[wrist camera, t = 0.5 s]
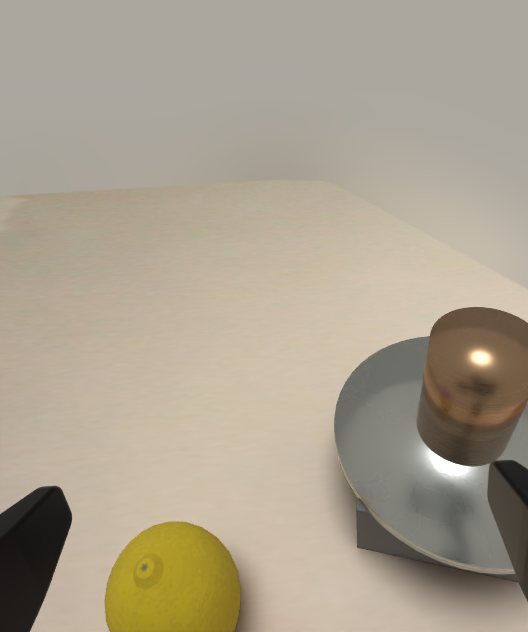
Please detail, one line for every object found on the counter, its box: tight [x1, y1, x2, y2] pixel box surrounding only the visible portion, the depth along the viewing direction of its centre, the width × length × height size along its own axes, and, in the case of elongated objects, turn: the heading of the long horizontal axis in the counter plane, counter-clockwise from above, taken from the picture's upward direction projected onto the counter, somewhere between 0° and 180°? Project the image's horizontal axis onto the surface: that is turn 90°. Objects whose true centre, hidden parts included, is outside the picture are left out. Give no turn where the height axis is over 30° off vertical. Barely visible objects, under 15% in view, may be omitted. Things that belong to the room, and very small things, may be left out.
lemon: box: [105, 522, 241, 632], centre depth 18 cm, size 6×6×8 cm
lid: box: [334, 307, 528, 574], centre depth 18 cm, size 12×12×7 cm
